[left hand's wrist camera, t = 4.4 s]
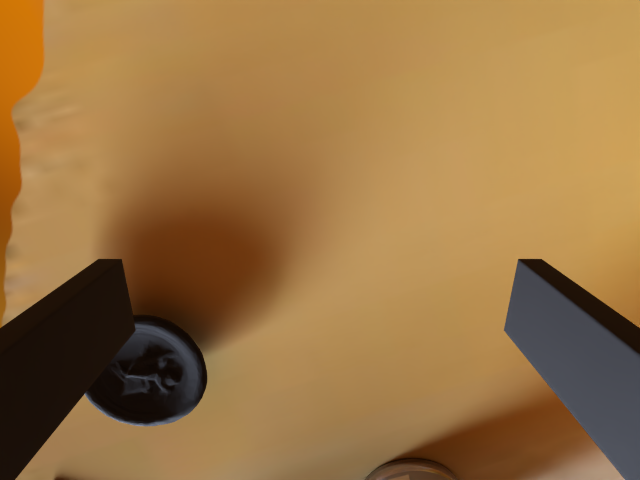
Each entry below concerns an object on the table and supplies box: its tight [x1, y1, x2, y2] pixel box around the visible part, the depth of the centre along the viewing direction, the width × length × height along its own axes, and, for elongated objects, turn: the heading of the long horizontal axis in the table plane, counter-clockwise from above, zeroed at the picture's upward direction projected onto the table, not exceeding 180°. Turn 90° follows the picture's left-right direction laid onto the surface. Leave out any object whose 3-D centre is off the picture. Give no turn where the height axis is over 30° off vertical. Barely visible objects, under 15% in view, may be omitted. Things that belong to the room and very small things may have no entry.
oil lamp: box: [85, 315, 207, 426], centre depth 44 cm, size 15×20×5 cm
